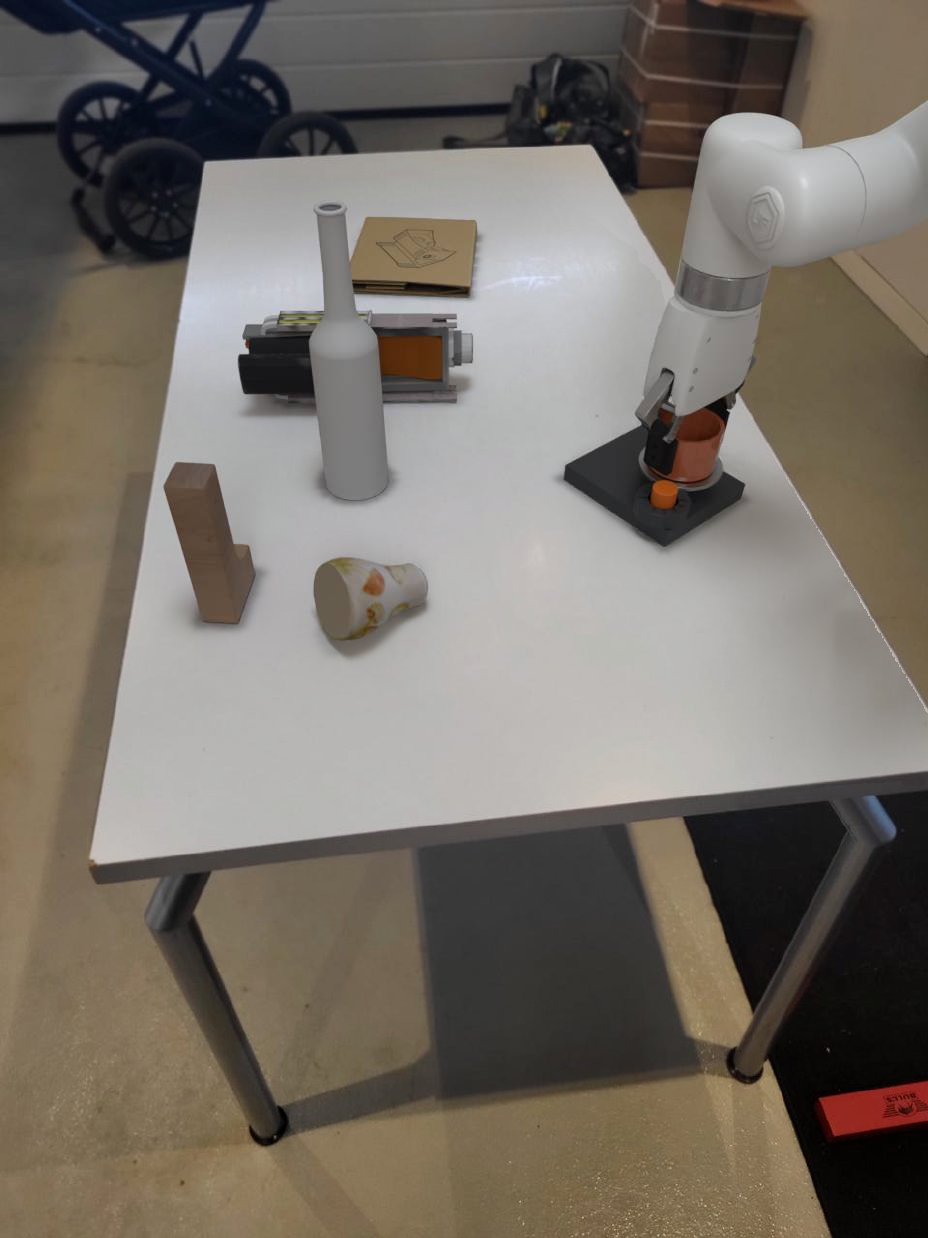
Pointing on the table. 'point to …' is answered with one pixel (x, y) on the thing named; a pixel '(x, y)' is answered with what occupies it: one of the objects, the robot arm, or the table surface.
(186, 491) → the wooden block
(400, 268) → the box
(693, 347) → the robot arm
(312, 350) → the bottle
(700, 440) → the cup
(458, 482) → the table surface
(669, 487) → the button
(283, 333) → the mechanical component
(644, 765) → the table surface
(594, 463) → the scale
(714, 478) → the brushed metal disc
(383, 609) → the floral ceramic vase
